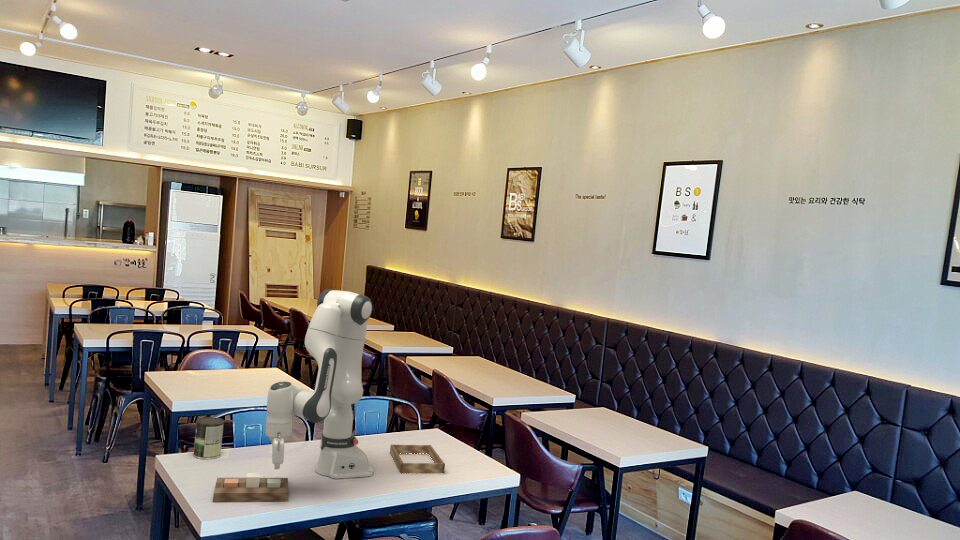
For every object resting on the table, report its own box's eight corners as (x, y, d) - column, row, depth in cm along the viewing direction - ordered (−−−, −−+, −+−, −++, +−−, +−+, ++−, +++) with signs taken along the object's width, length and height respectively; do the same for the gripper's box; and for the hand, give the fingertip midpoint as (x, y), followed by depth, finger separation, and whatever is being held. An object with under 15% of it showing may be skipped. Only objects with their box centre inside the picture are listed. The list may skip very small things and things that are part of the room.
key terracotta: (237, 488, 236) (238, 478, 236) (236, 493, 232) (237, 482, 232) (224, 488, 235) (225, 478, 235) (223, 493, 231) (224, 483, 231)
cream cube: (259, 483, 238) (260, 473, 238) (258, 487, 234) (259, 477, 234) (245, 483, 237) (246, 472, 237) (245, 487, 233) (246, 477, 233)
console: (287, 485, 246) (287, 477, 246) (288, 501, 232) (288, 492, 232) (216, 486, 239) (217, 477, 239) (212, 502, 225) (213, 493, 225)
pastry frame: (429, 454, 302) (430, 445, 302) (443, 473, 277) (444, 464, 277) (389, 453, 297) (390, 444, 297) (400, 473, 272) (401, 463, 272)
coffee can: (189, 458, 265) (192, 422, 265) (198, 450, 275) (201, 416, 275) (216, 460, 266) (219, 424, 265) (224, 452, 276) (227, 418, 276)
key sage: (279, 488, 240) (280, 478, 240) (279, 493, 236) (280, 483, 236) (266, 488, 239) (267, 478, 239) (266, 493, 235) (267, 483, 235)
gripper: (288, 437, 229) (286, 478, 229) (287, 420, 248) (285, 458, 249) (269, 438, 227) (267, 479, 227) (269, 421, 246) (267, 458, 247)
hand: (277, 468), depth 238 cm, fingers closed
